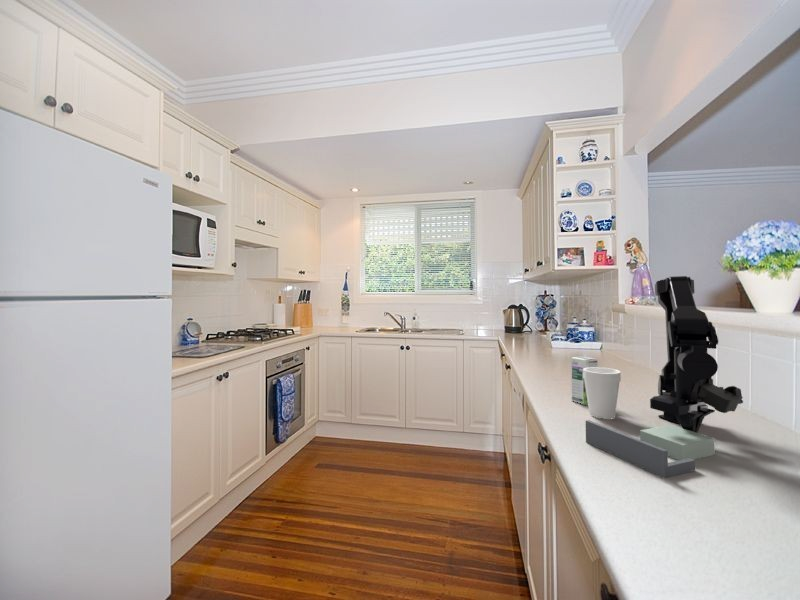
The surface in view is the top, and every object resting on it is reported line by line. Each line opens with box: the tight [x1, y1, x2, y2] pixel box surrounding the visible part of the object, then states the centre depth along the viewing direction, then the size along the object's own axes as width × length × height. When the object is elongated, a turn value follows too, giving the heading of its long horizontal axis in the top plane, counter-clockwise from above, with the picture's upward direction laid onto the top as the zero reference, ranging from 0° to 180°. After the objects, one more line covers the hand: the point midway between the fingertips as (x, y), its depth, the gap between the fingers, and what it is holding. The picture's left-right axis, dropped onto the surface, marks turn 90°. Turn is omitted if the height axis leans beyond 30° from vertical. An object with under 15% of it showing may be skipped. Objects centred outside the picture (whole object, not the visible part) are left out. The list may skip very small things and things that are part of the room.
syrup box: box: [570, 356, 599, 406], centre depth 115 cm, size 6×6×14 cm
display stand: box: [585, 419, 696, 479], centre depth 76 cm, size 8×18×5 cm, turn 18°
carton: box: [639, 424, 716, 461], centre depth 78 cm, size 10×9×4 cm
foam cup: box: [583, 367, 622, 420], centre depth 102 cm, size 10×9×13 cm
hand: (691, 438), depth 81 cm, fingers closed
